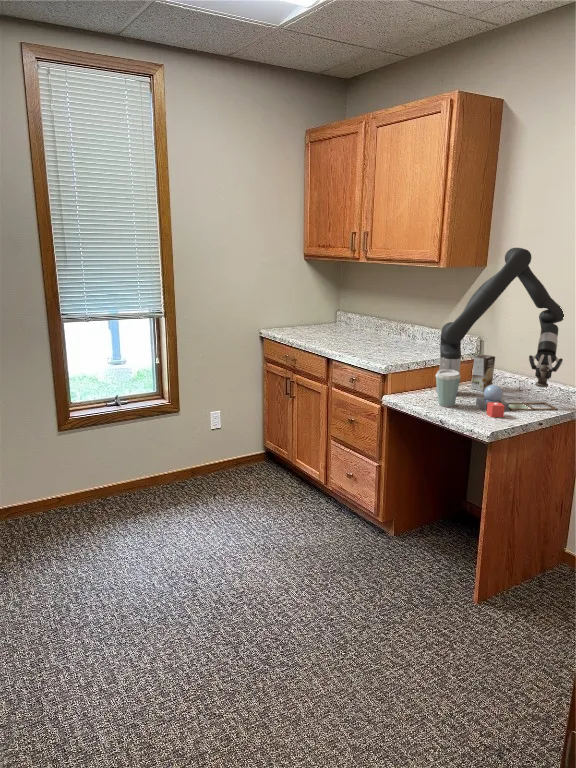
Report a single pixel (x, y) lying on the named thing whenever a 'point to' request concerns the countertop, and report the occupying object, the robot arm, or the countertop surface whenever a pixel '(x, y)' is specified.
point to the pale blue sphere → (493, 393)
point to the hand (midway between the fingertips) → (542, 377)
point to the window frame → (522, 407)
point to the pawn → (543, 376)
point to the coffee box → (483, 372)
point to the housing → (483, 403)
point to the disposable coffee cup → (447, 387)
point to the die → (495, 409)
